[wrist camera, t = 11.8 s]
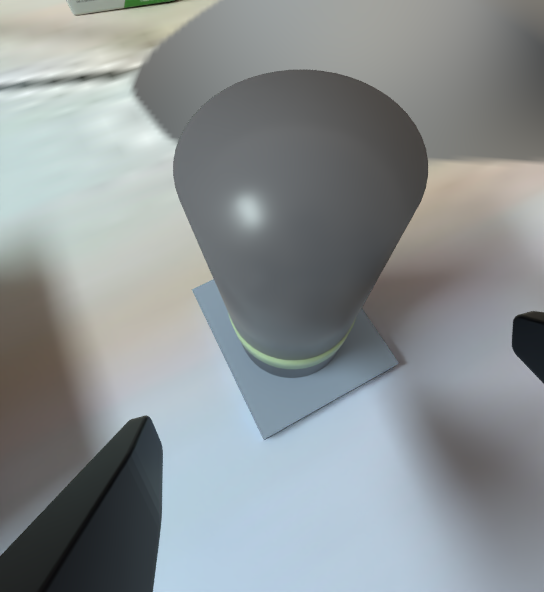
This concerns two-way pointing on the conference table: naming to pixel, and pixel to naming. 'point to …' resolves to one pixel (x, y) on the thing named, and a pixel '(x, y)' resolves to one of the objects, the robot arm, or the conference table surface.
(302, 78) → the cartridge
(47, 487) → the conference table surface
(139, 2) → the ink box
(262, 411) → the slate mat
